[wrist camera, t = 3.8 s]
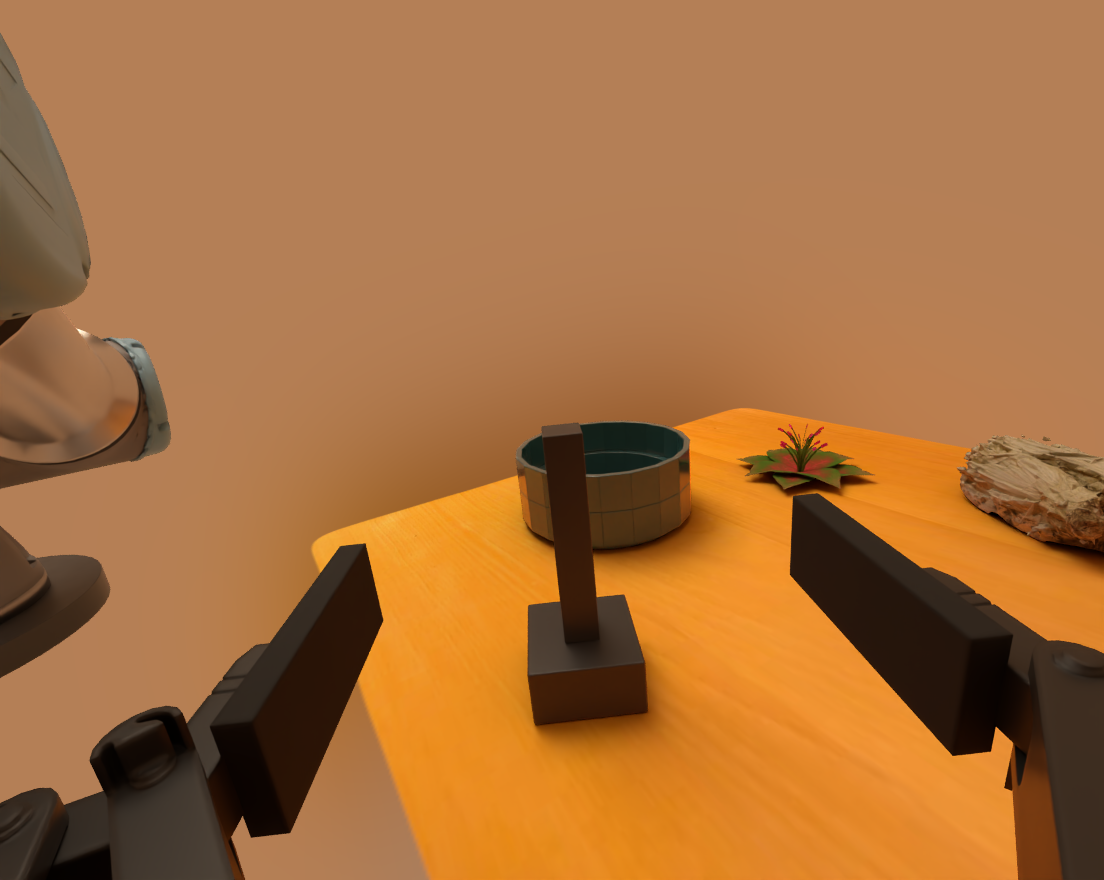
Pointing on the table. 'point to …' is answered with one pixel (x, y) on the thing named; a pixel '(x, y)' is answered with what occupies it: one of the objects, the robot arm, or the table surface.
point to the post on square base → (579, 609)
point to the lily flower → (803, 463)
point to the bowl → (617, 482)
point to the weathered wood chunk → (1039, 489)
